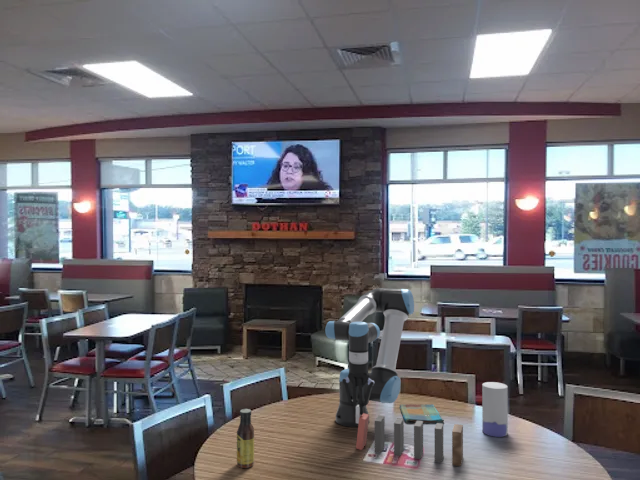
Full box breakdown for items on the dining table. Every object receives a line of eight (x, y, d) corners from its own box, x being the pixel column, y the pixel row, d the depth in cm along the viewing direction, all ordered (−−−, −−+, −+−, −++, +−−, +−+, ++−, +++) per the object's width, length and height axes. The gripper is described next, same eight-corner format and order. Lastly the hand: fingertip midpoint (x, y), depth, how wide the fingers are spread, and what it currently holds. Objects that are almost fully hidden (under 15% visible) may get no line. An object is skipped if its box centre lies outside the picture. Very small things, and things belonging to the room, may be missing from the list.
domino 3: (414, 458, 188) (413, 425, 188) (416, 451, 193) (416, 420, 193) (420, 459, 187) (420, 426, 187) (423, 452, 192) (423, 421, 192)
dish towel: (405, 424, 223) (405, 419, 223) (398, 407, 246) (398, 402, 246) (444, 425, 223) (444, 419, 223) (434, 407, 246) (434, 402, 246)
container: (507, 429, 216) (507, 382, 216) (507, 438, 206) (507, 389, 206) (482, 427, 219) (482, 380, 219) (482, 435, 209) (482, 387, 209)
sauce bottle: (237, 461, 185) (237, 407, 185) (254, 461, 185) (254, 406, 185) (235, 469, 178) (235, 413, 178) (253, 469, 179) (253, 412, 179)
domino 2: (394, 455, 190) (394, 423, 190) (397, 448, 196) (397, 417, 196) (400, 456, 189) (400, 423, 189) (403, 449, 195) (403, 418, 195)
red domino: (366, 444, 200) (369, 414, 200) (361, 450, 195) (365, 419, 194) (360, 442, 201) (363, 413, 201) (355, 448, 196) (359, 418, 195)
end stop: (452, 465, 182) (452, 431, 182) (454, 456, 189) (454, 424, 189) (460, 466, 181) (460, 432, 181) (462, 457, 188) (462, 425, 188)
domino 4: (434, 461, 185) (434, 428, 185) (436, 454, 191) (436, 422, 191) (441, 462, 184) (441, 429, 184) (443, 455, 190) (443, 423, 190)
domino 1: (374, 452, 193) (374, 420, 193) (378, 446, 199) (378, 415, 199) (380, 453, 192) (380, 421, 192) (384, 447, 198) (384, 416, 198)
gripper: (339, 362, 197) (339, 423, 197) (372, 365, 192) (372, 427, 192) (345, 358, 204) (345, 417, 204) (377, 361, 199) (377, 421, 199)
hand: (358, 422), depth 198 cm, fingers closed
